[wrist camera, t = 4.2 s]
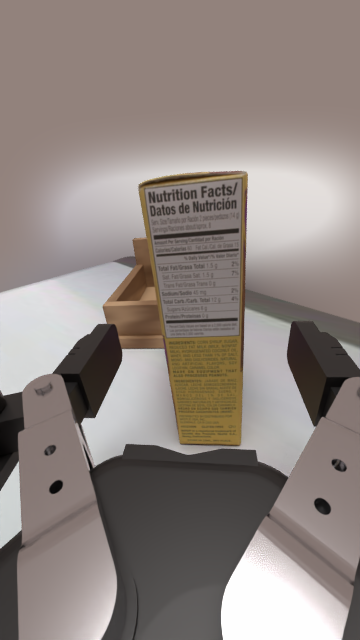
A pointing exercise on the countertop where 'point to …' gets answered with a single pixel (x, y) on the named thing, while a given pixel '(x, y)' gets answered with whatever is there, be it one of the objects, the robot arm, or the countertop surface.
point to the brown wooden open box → (136, 304)
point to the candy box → (200, 296)
